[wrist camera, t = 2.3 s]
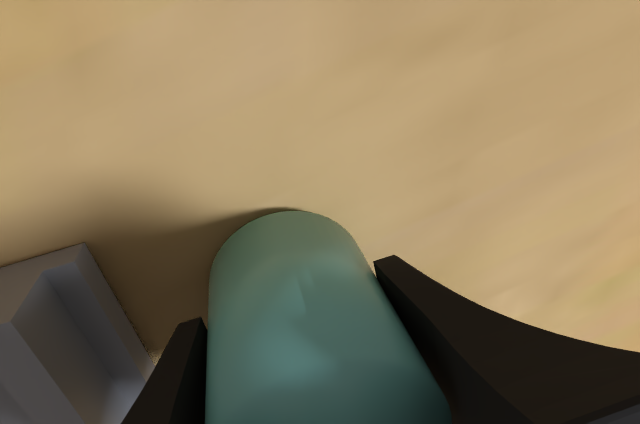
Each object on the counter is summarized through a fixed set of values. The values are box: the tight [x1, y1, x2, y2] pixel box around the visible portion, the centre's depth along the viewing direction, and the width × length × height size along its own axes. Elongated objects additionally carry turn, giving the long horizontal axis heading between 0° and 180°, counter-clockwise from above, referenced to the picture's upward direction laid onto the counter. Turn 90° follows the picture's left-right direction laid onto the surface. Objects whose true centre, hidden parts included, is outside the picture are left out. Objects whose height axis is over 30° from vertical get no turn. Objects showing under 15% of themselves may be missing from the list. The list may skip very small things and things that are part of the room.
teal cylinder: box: [205, 211, 452, 424], centre depth 11 cm, size 5×5×6 cm
